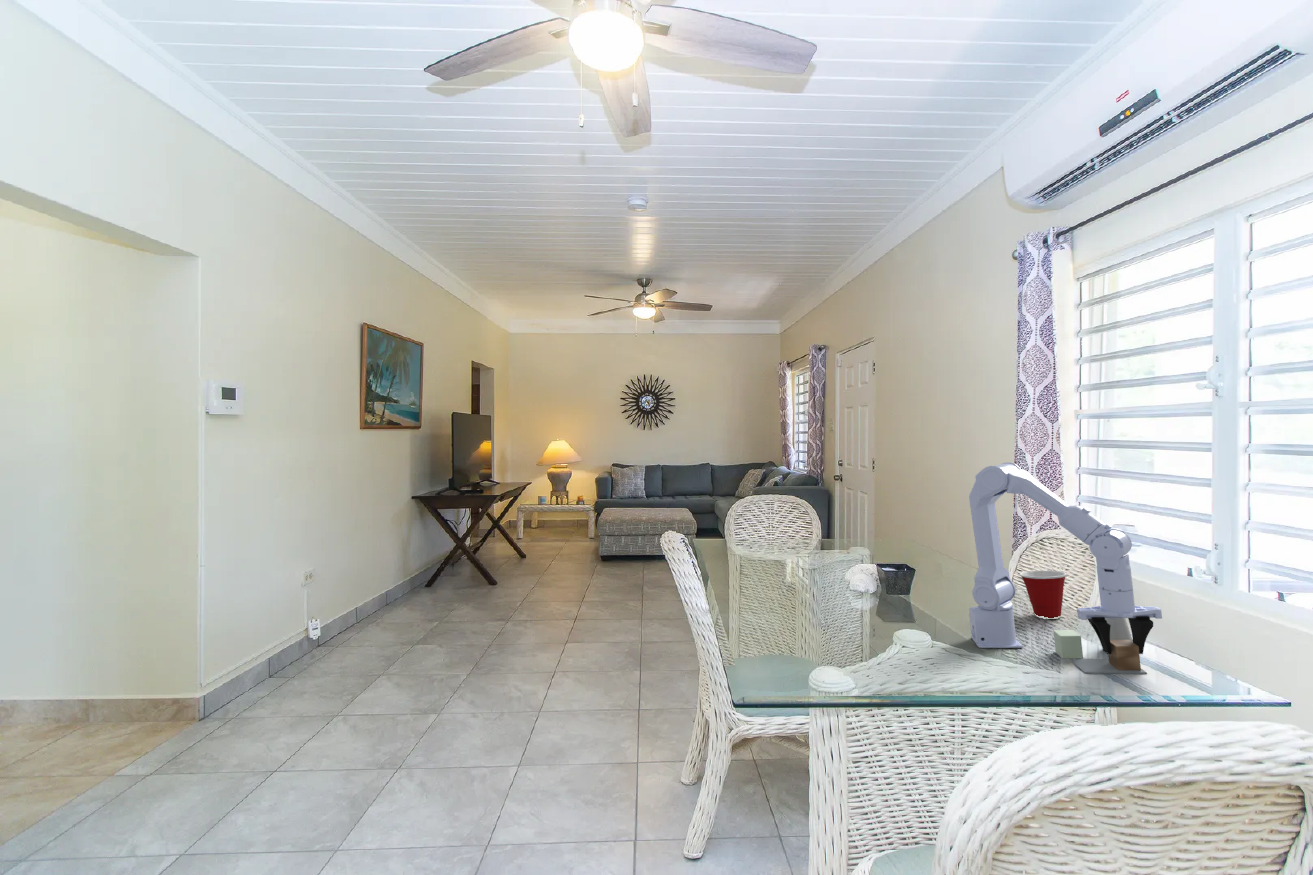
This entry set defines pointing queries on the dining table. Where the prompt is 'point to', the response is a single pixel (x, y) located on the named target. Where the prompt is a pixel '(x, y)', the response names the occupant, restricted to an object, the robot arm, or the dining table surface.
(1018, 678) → the dining table surface
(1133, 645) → the walnut block
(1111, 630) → the salt shaker
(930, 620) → the dining table surface
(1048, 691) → the dining table surface
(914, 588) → the dining table surface
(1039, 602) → the plastic cup
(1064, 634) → the sage block
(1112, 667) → the slate mat
